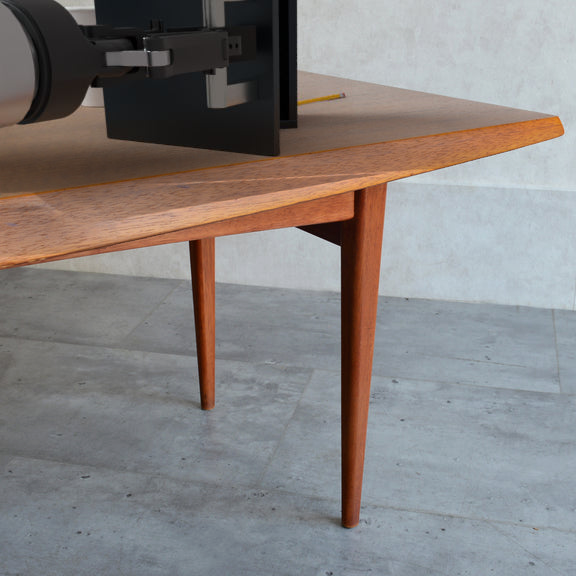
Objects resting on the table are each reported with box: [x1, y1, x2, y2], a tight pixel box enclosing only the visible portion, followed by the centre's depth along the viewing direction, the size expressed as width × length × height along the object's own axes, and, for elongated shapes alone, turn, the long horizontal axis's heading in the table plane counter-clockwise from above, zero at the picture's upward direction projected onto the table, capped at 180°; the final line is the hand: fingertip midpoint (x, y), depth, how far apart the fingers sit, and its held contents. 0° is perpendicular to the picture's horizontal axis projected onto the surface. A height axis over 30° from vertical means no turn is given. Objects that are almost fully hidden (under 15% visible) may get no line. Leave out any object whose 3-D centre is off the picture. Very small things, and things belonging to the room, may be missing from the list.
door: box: [93, 0, 281, 157], centre depth 65 cm, size 7×20×20 cm, turn 60°
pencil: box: [297, 92, 346, 106], centre depth 101 cm, size 1×13×1 cm, turn 142°
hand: (236, 42), depth 62 cm, fingers open, 2 cm apart
